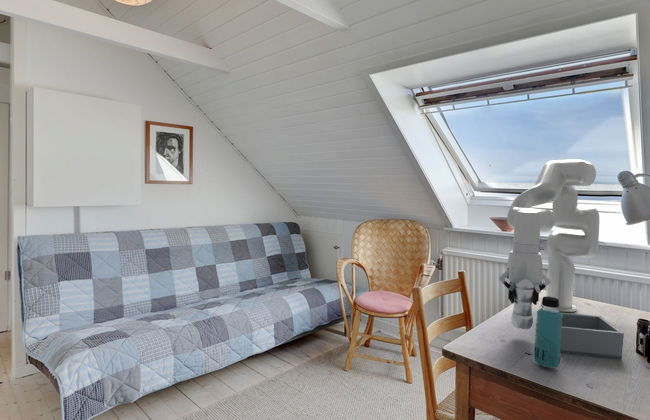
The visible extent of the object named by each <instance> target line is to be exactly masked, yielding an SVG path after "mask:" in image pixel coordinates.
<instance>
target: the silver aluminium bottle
mask: <svg viewBox="0 0 650 420" xmlns="http://www.w3.org/2000/svg"><path fill="white" fill-rule="evenodd" d="M534 288H535V285H534V284H533V283H532V282H531V281H529V280H522V281H520V282H519V283H516V285H515V287H514V292H515V297H514V303H513V307H512V312H511V317H510V320H511V324H512V326H513V327H515V328H517V329H521V330H529V329H531V328H532V327H533V323H534V318H533V311H532V310H533V303H532V298H533V292H534Z"/></svg>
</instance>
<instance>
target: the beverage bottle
mask: <svg viewBox="0 0 650 420" xmlns="http://www.w3.org/2000/svg"><path fill="white" fill-rule="evenodd" d="M541 302H542V305H544V306H547V307H552V308H545V307H542V308H540V309H538V310H537V311H536V323H535V338H534V341H535V343H534V349H533V351H534V353H533V354H534V355H533V358H534V361H535V363H536V364H538V365H540V366H542V367H545V368H546V367H547V368H550V369H551V368H558V367H559V366H560V363H561V362H560V361H561V353H560V348H561V343H562V342H561V330H562V318H563V315H562V314H561V313H562V312H560V311H558V310H556V309H553V308H557V307H559V300H558V299H557V298H554V297H546V296H543V297H542V299H541ZM542 305H541V306H542Z"/></svg>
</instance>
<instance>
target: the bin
mask: <svg viewBox="0 0 650 420" xmlns="http://www.w3.org/2000/svg"><path fill="white" fill-rule="evenodd" d="M560 313H561V314H562V315H563V318H562V330H561V342H562V343H561V348H560V354H563V355H572V356H573V355H574V356H580V357H581V356H583V357H590V358H591V357H592V358H600V359H601V358H602V359H611V360H618V361H622V360H623V348H624V338H625V336H624V335H625V333H624V332H623V331H621V330H620V329H619V328H617V327H616V326H614V325H613V324H612V323H610V322H609V321H608V320H607V319H605V318H604V317H602V316H601V315H590V314H579V313H571V312H560Z"/></svg>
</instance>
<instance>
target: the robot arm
mask: <svg viewBox="0 0 650 420" xmlns="http://www.w3.org/2000/svg"><path fill="white" fill-rule="evenodd" d="M596 176H597V170H596V167H595V165H594V164H593V163H591V162H589V161H586V160H582V159H557V160H556V159H555V160H550V161H548V162H546V163H545V164H544V165H543V167H542V168H541V171H540V173H539V176H538V177H537V180H536V182H535V185H534V186H532V187H530V188H527V190H525V191H523V192H521V193H520V194H518V195H517V196H515V198H514V199H513V201H512V203H511V205H510V207H509V210H508V212H507V217H506V223H507V224H508V226H509V227H510V228H512V229H513V240H512V242H513V245H512V250H510V251H509V255H508V258H507V264H506V270H505V271H504V272H503V273H502V274H501V275H499V276H498V278H497V279H498V280H499V281H500V282H501V283H502V284H503V285H504V287H505V288H506V289H508V292H507V293H508V295H507V296H508V297H507V298H508V301H510V302H511V304H514V297H515V292H514V287H515V285H516V283H519V282H520V281H522V280H529V281H531V282H532V283H533V284H534V285H535V288H534V292H533V298H532V305H534V306H537V304H538V303H539V299H540V298H539V297H540V293H541V291H543V290H545V288H546V292H545V297H554V298H557V299H558V300H559V307H557V308H553V309H556V310H558V311H559V312H560V313H573V312H576V311H577V306H576V305H575V304H573V301H574V300H573V299H574V286H575V285H574V284H575V275H576V274H575V272H576V266H575V264H574V262H573V260H572V259H571V258H570V257H575V258H582V259H593V258H595V257H596V256H597V254H598V251H599V242H600V241H599V239H600V238H599V237H600V213H599V211H598V209H597V208H595V207H592V206H584V205H583V206H582V205H578V196H579V195H578V192H577V189H576V188H575V187H576V186H577V187H579V186H581V187H589V186H591V185H593V183H594V182H595V180H596ZM551 202H552V210H549V209H545V208H535V206H539V205H544V204H545V205H546V204H547V203H551ZM554 227H555V228H559V229H564V230H572V231H573V230H574V231H581V232H583V233H581V232H580V233H579V232H571V231H561V230H559V231H553V232H551V233H549V234H548V236H547V238H546V244H547V258H548V259H547V276H546V275H545V274H544V269H543V257H542V254H541V253H540V251H544V250H545V246H544V245H541V244H540V241H541V240H540V239H541V233H542V232H543V233H546V232H549V231H551V230H552V229H553V228H554ZM506 279H508V281H509V282H507V280H506ZM540 305H541V306H542V308H552V307H547V306H544V305H542V301H541V303H540Z"/></svg>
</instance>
